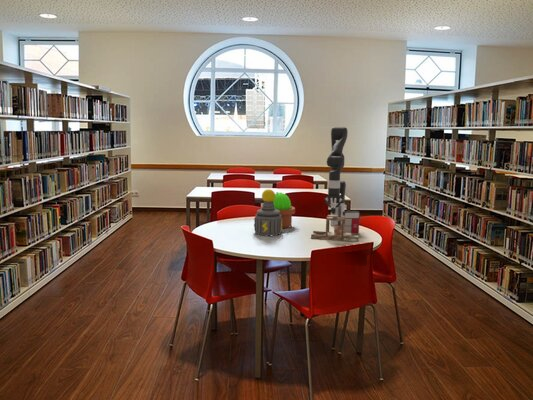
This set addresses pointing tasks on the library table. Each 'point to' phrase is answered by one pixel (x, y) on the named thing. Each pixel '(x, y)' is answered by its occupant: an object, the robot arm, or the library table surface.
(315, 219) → the library table surface
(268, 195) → the decorative lamp
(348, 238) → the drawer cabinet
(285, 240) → the library table surface
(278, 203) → the potted cactus
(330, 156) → the robot arm
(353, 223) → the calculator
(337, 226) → the cube with grey rod
